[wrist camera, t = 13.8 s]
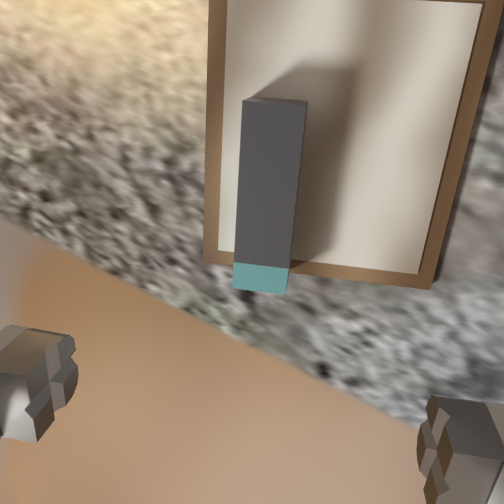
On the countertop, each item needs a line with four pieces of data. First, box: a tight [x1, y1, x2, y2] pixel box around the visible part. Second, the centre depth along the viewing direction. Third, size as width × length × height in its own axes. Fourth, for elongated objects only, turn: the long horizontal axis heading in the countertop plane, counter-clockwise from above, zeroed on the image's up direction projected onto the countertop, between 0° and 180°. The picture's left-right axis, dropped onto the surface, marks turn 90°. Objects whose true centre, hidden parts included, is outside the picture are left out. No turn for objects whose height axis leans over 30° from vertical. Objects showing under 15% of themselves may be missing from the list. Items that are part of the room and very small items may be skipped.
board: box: [203, 0, 504, 290], centre depth 24 cm, size 14×16×1 cm
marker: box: [232, 96, 308, 295], centre depth 24 cm, size 3×10×3 cm, turn 176°
